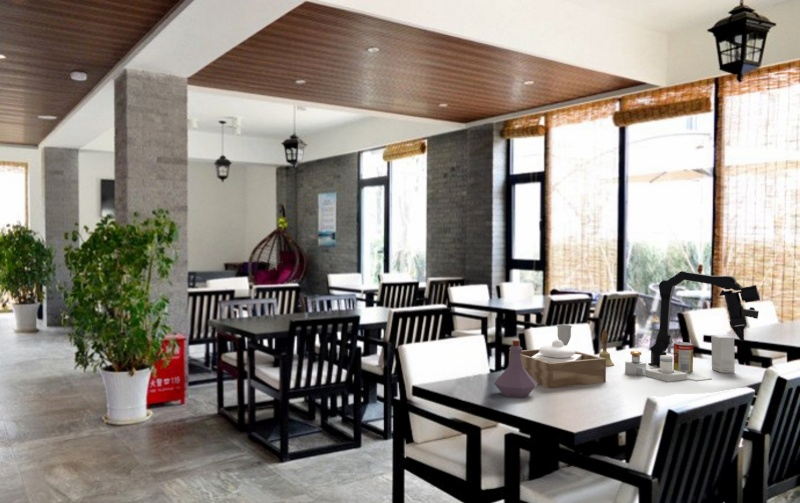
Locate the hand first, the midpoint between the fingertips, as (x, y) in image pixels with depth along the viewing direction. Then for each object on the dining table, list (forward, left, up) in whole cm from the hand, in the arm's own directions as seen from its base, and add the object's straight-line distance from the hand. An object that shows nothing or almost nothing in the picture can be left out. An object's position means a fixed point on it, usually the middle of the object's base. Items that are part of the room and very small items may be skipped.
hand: (742, 340), depth 264 cm
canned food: (-17, -16, -15) cm, 28 cm away
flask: (-9, -111, -15) cm, 112 cm away
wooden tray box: (-26, -79, -15) cm, 84 cm away
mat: (-3, -24, -15) cm, 29 cm away
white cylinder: (-9, -35, -15) cm, 39 cm away
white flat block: (-9, -35, -15) cm, 39 cm away
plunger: (-19, -42, -13) cm, 48 cm away
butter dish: (-26, -79, -15) cm, 84 cm away
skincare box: (-9, -1, -15) cm, 18 cm away
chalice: (-47, -58, -15) cm, 76 cm away
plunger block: (-19, -42, -15) cm, 48 cm away
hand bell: (-40, -40, -15) cm, 58 cm away
